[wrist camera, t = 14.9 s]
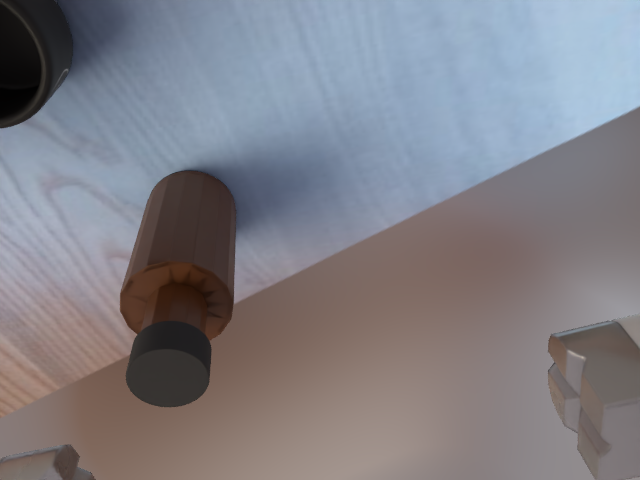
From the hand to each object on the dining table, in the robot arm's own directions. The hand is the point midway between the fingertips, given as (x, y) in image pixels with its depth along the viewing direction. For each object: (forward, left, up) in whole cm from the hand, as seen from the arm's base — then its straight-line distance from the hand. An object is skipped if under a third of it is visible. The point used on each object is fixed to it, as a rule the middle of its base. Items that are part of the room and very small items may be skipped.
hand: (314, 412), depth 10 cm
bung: (-10, -15, -22) cm, 28 cm away
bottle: (-10, -15, -37) cm, 41 cm away
